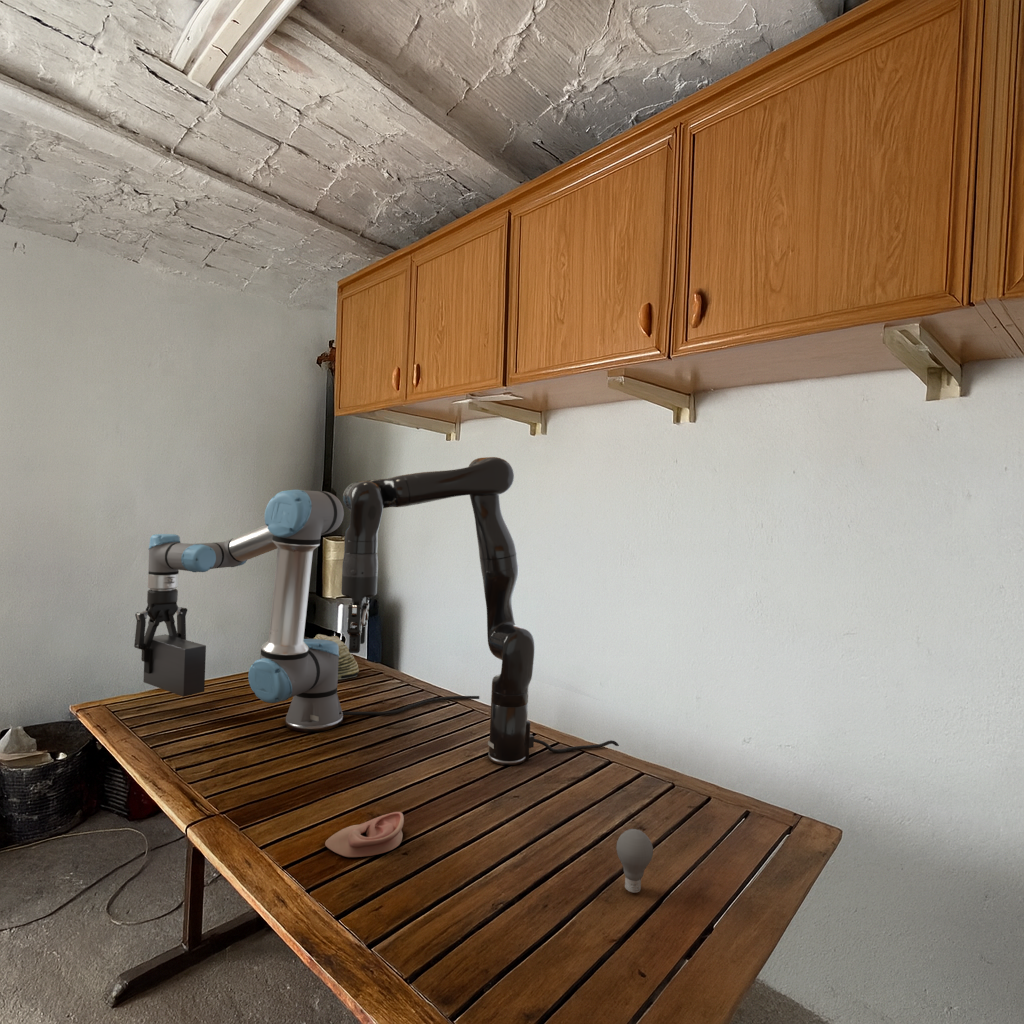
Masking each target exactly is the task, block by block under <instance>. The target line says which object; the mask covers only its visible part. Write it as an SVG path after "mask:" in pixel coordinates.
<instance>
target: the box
mask: <svg viewBox="0 0 1024 1024" xmlns="http://www.w3.org/2000/svg"><path fill="white" fill-rule="evenodd" d="M150 649H151V650H153V652H152V673H150V674H148V673H145V672H144V671H143V683H145V684H147V685H150V686H153V687H156V688H158V689H160V690H164V691H167V692H169V693H172V694H175V695H178V696H179V697H180V696H181V697H183V698H184V697H188V696H192V695H197V694H200V693H204V692H205V686H206V684H205V683H206V656H207V655H206V654H207V645H206V644H201V643H199V642H194V641H190V640H187V639H186V640H184V639H181V638H177V637H173V636H170V635H169V634H167V633H166V634H160V635H154V638H153V640H152V643H151V646H150Z"/></svg>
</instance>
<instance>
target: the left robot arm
mask: <svg viewBox="0 0 1024 1024" xmlns="http://www.w3.org/2000/svg"><path fill="white" fill-rule="evenodd" d="M344 511H345V510H344V506H343V504H342V502H341V500H340V499H339V498H338V497H337V496H336V495H335V494H333V493H331V492H328V491H325V490H308V489H307V490H304V489H288V490H282V491H279V492H277V493H275V495H274V496H272V497H271V499H270V500H269V501H268V503H267V504H266V507H265V510H264V523H265V524H264V525H261V526H258V527H256V528H254V529H252V530H249V531H247V532H244V533H241V534H239V535H237V536H235V537H232V538H230V539H227V540H225V541H219V542H218V541H216V542H199V543H188V542H187V543H185V542H181V537H180V536H179V535H178V534H175V533H155V534H152V535H150V538H149V544H148V567H147V568H148V569H147V570H148V571H147V588H148V590H147V593H146V594H147V595H146V602H147V606H146V608H145V610H143V611H141V612H139V611H138V612H135V614H134V616H135V619H136V623H135V624H136V625H135V635H134V645H133V647H134V649H137V650H141V656H140V657H141V661H142V662H143V673H144V672H145V673H148V674H150V673H152V652H153V650H151V649H150V646H151V643H152V640H153V638H154V636H156V631H157V628H158V627H159V625H160V623H164V624H165V626H166V629H167V633H168V635H170V636H173V637H177V638H181V639H184V640H187V625H186V618H187V617H186V615H187V612H188V608H187V607H184V606H178V597H179V595H178V594H179V590H178V589H177V588H178V587H179V571H185V572H192V573H206V572H208V571H210V570H214V569H223V568H236V567H240V566H243V565H244V564H246V563H247V561H248V560H252V559H254V558H256V557H259V556H261V555H264V554H266V553H269V552H272V551H275V550H277V552H276V560H275V561H276V562H275V571H274V580H273V589H272V590H273V592H272V601H271V609H270V610H271V611H270V619H269V620H270V621H269V630H268V639H267V641H265V642H264V643H263V644H262V645H261V647H260V655H259V656H260V657H259V659H256V660H255V661H254V662H253V663H252V664H251V666H250V667H249V669H248V675H247V677H248V684H249V686H250V689H251V691H252V692H253V693H254V695H255V697H256V698H258V699H259V700H260V701H261V702H264V703H266V704H277V703H279V702H285V701H287V700H289V699H290V698H292V699H291V702H290V704H289V708H288V711H287V713H286V715H285V726H286V728H287V729H289V730H291V731H294V732H295V731H296V732H301V733H316V732H325V731H329V730H332V729H335V728H337V727H339V726H340V725H342V723H343V722H344V716H389V715H395V714H399V713H402V712H405V711H406V710H409V709H413V708H416V707H419V706H422V705H425V704H428V703H433V702H440V701H451V700H480V695H453V696H452V695H451V696H440V697H434V698H429V699H425V700H421V701H418V702H414V703H411V704H408V705H406V706H403V707H400V708H397V709H394V710H386V711H343V709H342V706H341V702H340V699H339V695H338V682H339V680H338V661H339V647H338V644H337V643H335V642H333V641H329V640H321V639H313V638H305V629H306V620H307V611H308V604H309V603H308V601H309V594H310V593H309V592H310V583H311V573H312V562H313V554H314V550H315V549H317V548H318V547H320V545H321V536H325V535H328V534H331V533H332V532H334V531H336V530H338V528H339V527H340V526H341V524H342V522H343V520H344V516H345V512H344ZM175 615H176V621H175V618H174V616H175ZM147 618H148V622H147ZM146 625H147V628H146Z"/></svg>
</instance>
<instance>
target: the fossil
mask: <svg viewBox="0 0 1024 1024" xmlns="http://www.w3.org/2000/svg"><path fill="white" fill-rule="evenodd" d="M312 639H321V640H329V641H333V642H335V643H337V644H338V647H339V661H338V681H339V680H345V679H350V678H356V677H357V676H358V675H359V672H360V669H359V665H358V662H357V660H356V659H355V656H354V655H353V653H350V652H349V647H348V646H347V644H346V643H345V642H344V641H342V640H341V639H340V637H339V636H337V635H331V636H328V635H326V634H321V633H318V634H316V635H315V637H313V638H312Z"/></svg>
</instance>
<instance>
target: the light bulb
mask: <svg viewBox="0 0 1024 1024" xmlns="http://www.w3.org/2000/svg"><path fill="white" fill-rule="evenodd" d="M615 849H616V854H617V857H618V859H619V861H620V863H621V865H622V867H623V873H624V874H623V875H624V876H625V878H624V888H625V890H627V891H628V892H630V893H634V894H635V893H639V892H640V891H641V889H642V887H641V886H642V879H643V877H644V875H645V871H646V868H647V867H648V866H649V864H650V863H651V861H652V859H653V855H654V847H653V843H652V841H651V838H649V836H648V835H647V834H646V833H645V832H643V831H642V830H641V829H636V828H629V829H627V830H625V831H623V832H622V833H621V834H620V835H619V837H618V839H617V841H616V847H615Z"/></svg>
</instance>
